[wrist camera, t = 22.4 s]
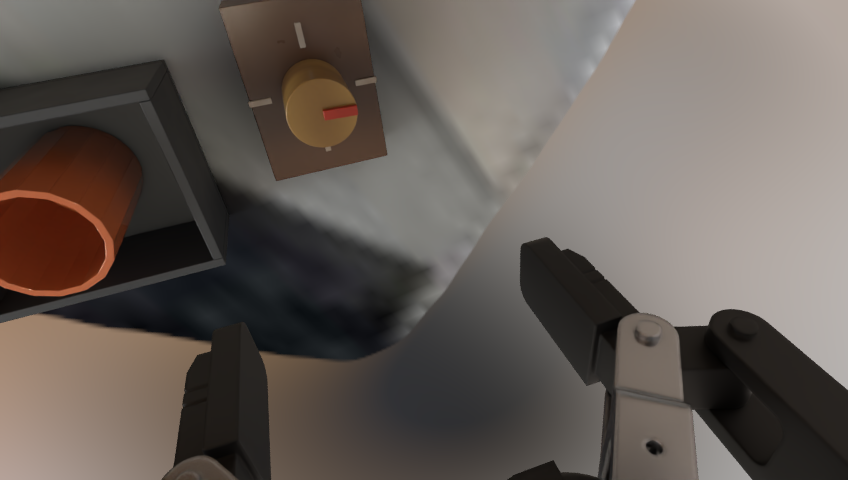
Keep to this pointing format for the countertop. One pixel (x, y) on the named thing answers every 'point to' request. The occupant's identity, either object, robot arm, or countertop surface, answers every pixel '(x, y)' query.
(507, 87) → the countertop surface
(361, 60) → the tap block
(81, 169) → the cup
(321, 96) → the tap knob
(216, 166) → the countertop surface
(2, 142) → the basin
